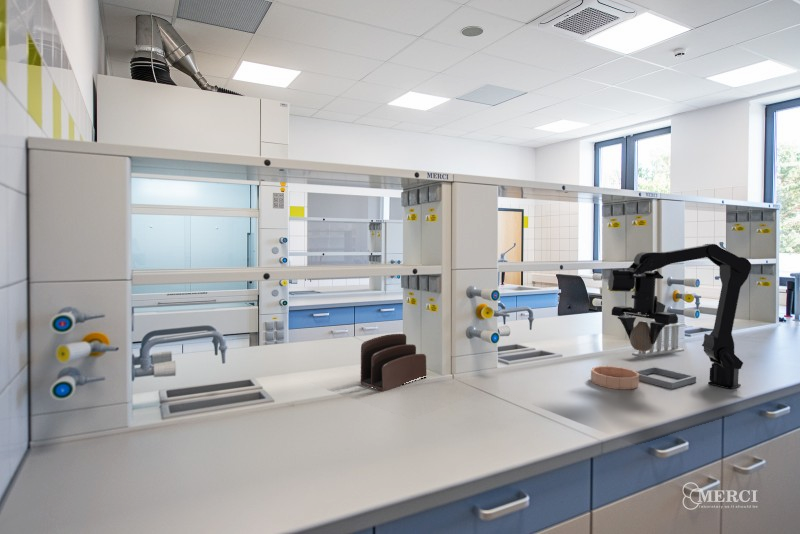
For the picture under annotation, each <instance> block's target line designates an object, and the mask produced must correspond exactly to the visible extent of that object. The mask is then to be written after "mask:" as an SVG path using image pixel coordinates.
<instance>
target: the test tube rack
mask: <svg viewBox="0 0 800 534" xmlns="http://www.w3.org/2000/svg"><path fill="white" fill-rule="evenodd" d="M642 322H647V323H648V321H645V320H642ZM652 322H655V320H654V319H650V321H649V324H648V326H649V327H650V323H652ZM685 325H686V324H685V323H682V322H681V323H680V322H678V323H673V324H669V325H665V326H664V327H663V328H664V329H662V330H661V331H660V333H659V335H658V337H657V340H656V343H655V344H656V348H655V344H654V345H653V347H652V348H651V349H650V350H648V351H640V350H637V352H636V351H635V352H632V355H633V356H636V357H641V358H644V357H645V358H646V357H652V356H658V355H663V354H664V355H665V354H672V353H678V352H685V348H681V347H679V329H680V326H685ZM670 327H671V328H670ZM670 329H671V330H670ZM663 330H664V331H663ZM670 331H671V332H670ZM663 333H664V334H663ZM662 336H663V338H662ZM670 336H671V337H670ZM670 338H671V339H670ZM662 339H663V341H662ZM662 342H663V348H662Z"/></svg>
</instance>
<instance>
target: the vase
mask: <svg viewBox="0 0 800 534" xmlns="http://www.w3.org/2000/svg"><path fill="white" fill-rule="evenodd" d="M648 325H649V323H648V321H647V322H643V320H642V321H640V320H639V321H638V323H637V324H636V325H635V326H634V328H633V330H632V331H631V334H630V339H629V342H630V345H631V347H632V348H633V349H634V350H636V351H639V350H640V351H649V350H650V349H651V348H652V347H653V345H654V346H655V344H651V333H650V327H649V326H648Z"/></svg>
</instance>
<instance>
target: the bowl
mask: <svg viewBox="0 0 800 534" xmlns="http://www.w3.org/2000/svg"><path fill="white" fill-rule="evenodd" d="M635 371H636V370H633V369H629V368H625V367H618V366H609V365H607V366H606V365H605V366H603V365H602V366H595V367H592V369H591V370H590V380H591V383H593V384H595V385H597V386H599V387H602V388H607V389H612V390H613V389H615V390H634V389H637V388H639V383H640V380H639V373H637V372H635Z"/></svg>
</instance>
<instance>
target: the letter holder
mask: <svg viewBox="0 0 800 534" xmlns="http://www.w3.org/2000/svg"><path fill="white" fill-rule="evenodd" d="M426 375H428V374H427V356H426V354H424V353H417V346H416V345H415V344H408V343H407V335H406V333H405V334H404V333H391V334H385V335H381V336H378V337H374V338H371V339H367V340H366V341H364V342H363V341H362V343H361V347H360V385H361V384H362V385H361V386H363V385H365V386H364V387H367V386H369V387H368V388H370V387H373V388H376V389H377V391H380V392H386V391H389V390H392V389H395V388H396V389H397V388H399V387H401V385H402V384H404V383H406V382H409V381H411V380H414V379H417V378H419V377H423V376H426ZM402 386H403V385H402ZM373 388H372V389H373ZM376 389H375V390H376Z"/></svg>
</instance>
